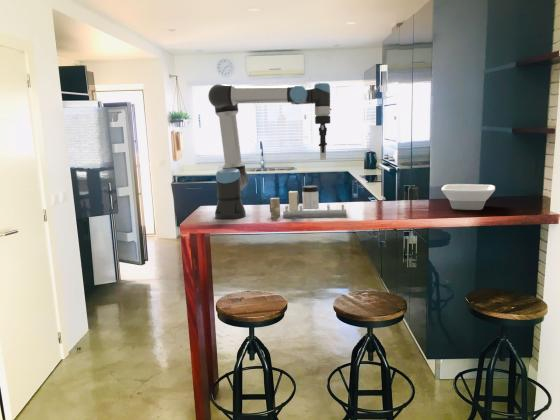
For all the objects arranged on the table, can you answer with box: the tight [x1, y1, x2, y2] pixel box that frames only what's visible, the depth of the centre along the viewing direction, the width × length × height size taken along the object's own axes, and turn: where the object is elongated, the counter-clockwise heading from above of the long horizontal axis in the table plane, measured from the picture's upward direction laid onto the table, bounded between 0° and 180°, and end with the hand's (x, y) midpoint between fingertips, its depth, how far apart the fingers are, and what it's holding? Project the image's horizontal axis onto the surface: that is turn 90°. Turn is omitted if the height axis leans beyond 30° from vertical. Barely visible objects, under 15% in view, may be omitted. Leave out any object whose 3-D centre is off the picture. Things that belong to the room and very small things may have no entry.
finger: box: [269, 197, 281, 218], centre depth 223 cm, size 4×4×9 cm
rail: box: [282, 190, 348, 219], centre depth 220 cm, size 30×9×12 cm, turn 83°
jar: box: [301, 185, 320, 209], centre depth 241 cm, size 9×8×12 cm
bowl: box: [440, 183, 496, 211], centre depth 227 cm, size 24×25×10 cm
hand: (323, 158), depth 230 cm, fingers open, 13 cm apart
